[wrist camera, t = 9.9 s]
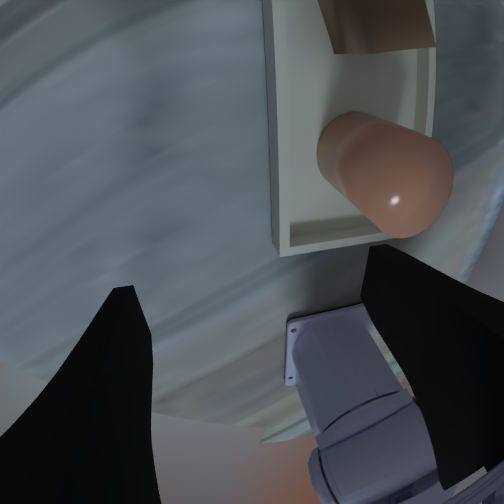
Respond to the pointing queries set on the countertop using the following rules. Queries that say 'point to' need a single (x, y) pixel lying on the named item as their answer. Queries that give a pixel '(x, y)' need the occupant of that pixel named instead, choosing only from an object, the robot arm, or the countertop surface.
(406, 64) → the tray
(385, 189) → the brown rounded cylinder
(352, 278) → the countertop surface
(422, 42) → the walnut block
